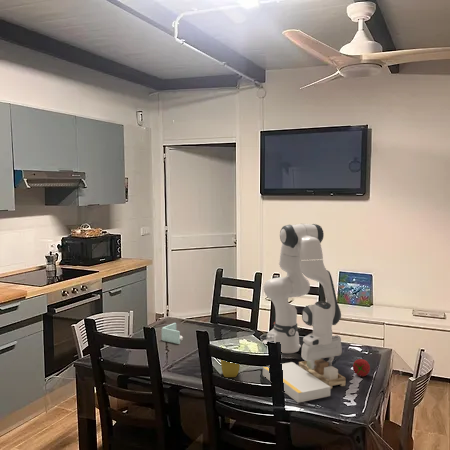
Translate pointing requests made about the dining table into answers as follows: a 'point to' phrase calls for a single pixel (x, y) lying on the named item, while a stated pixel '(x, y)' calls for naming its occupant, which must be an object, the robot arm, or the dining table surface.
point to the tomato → (361, 367)
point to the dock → (300, 383)
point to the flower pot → (229, 369)
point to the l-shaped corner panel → (171, 334)
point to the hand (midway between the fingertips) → (321, 366)
